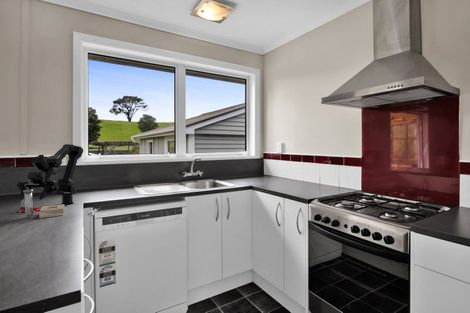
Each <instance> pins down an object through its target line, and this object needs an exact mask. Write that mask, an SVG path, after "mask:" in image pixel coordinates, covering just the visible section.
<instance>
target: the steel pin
mask: <svg viewBox="0 0 470 313" xmlns="http://www.w3.org/2000/svg"><path fill="white" fill-rule="evenodd" d="M23 192H24V193H25V198H24V202H25V212H24V213H25V215H24V216H25V219H32V218H33V217H34V212H33V210H34V209H33V208H34V206H33V205H34V203H33V202H34V200H33V192H34V188H32V189H28V190H23Z"/></svg>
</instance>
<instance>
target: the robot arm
mask: <svg viewBox="0 0 470 313" xmlns="http://www.w3.org/2000/svg"><path fill="white" fill-rule="evenodd" d="M83 153H84V148H83V147H82V146H79V145H74V144H72V143H66V144H63V145H62V146H61V147H60V149H58V150H57V151H56V152H55V154H53V155H50V156H48V157H45V155H44V154H38V155H37V156H35V157H33V158H32V159H31V164H32V165H33V166H34V167H35V169H36V170H37V171H29V172H28V173H27V175H26V179H27V180H28V179H29V181H30V182H28V181H17V183H16V187H17V188H18V189H19V190H20V197H19V199H20V201H22V200H23V199H24V200H25V193H24V192H23V190H28V189H43V190H42V191H41V194H40V195H39V198H38V199H39V201H41V200H44V198H47V197H48V196H49V195H50V194H52V193H57V195H58V196H59V195H61V203H60V205H62V204H64V206H65V205H73V204H74V200H73V199H74V198H73V197H74V196H73V195H76V194H77V188H76V187H75V186H74V185H75V184H74V181H73V178H74V175H75V170H76V167H77V163H78V160H79V159H80V158H82V157H83V156H82V155H83ZM66 156H68V159H67V160H68V161H67V163H66V167H65V171H64V174H63V177H62V178H59V179H58V180H57V182H56V181H55V180H51V178H52V176H53V175H54V176H55V175H56V170H55V169H56V168H57V169H59V168H60V167H61V165H62V163H63V159H64V158H66Z"/></svg>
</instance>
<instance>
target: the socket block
mask: <svg viewBox="0 0 470 313" xmlns="http://www.w3.org/2000/svg"><path fill="white" fill-rule="evenodd" d="M40 208H41V209H40V211H38V213H39V215H38V216H39V217H38V218H39V219H45V218H50V217H52V218H53V217H58V216H59V217H60V216H64V215H65V205H64V204H62V205H61V204H53V205H46V206H45V205H44V206H41V207H40Z"/></svg>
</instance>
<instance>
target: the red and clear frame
mask: <svg viewBox="0 0 470 313" xmlns="http://www.w3.org/2000/svg"><path fill="white" fill-rule="evenodd" d="M40 209H41V207H33V213H34V211H35V212H39V210H40ZM17 213H18V214H20V213H25V198H24V199H23V200H21V202H20V207H19V210H18V212H17Z"/></svg>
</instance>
